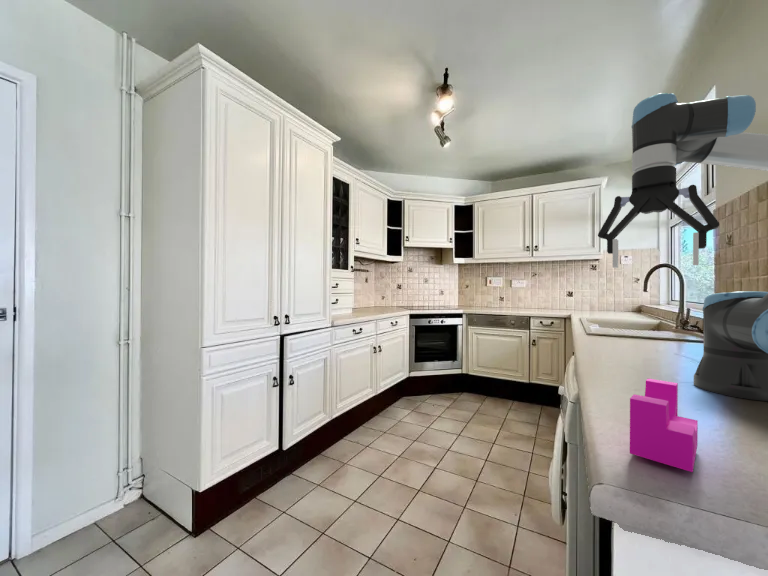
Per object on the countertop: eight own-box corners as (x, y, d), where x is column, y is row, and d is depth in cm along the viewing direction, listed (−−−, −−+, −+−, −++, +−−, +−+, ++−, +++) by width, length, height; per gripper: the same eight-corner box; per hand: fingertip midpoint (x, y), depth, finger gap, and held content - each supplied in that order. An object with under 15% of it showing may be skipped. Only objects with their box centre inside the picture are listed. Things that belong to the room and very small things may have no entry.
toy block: (692, 472, 40) (693, 411, 40) (629, 453, 44) (629, 398, 44) (699, 435, 50) (699, 386, 50) (647, 422, 55) (647, 378, 55)
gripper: (734, 160, 66) (733, 264, 66) (590, 186, 83) (590, 269, 83) (739, 148, 60) (738, 262, 60) (584, 178, 77) (583, 267, 77)
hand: (652, 266), depth 71 cm, fingers open, 13 cm apart
